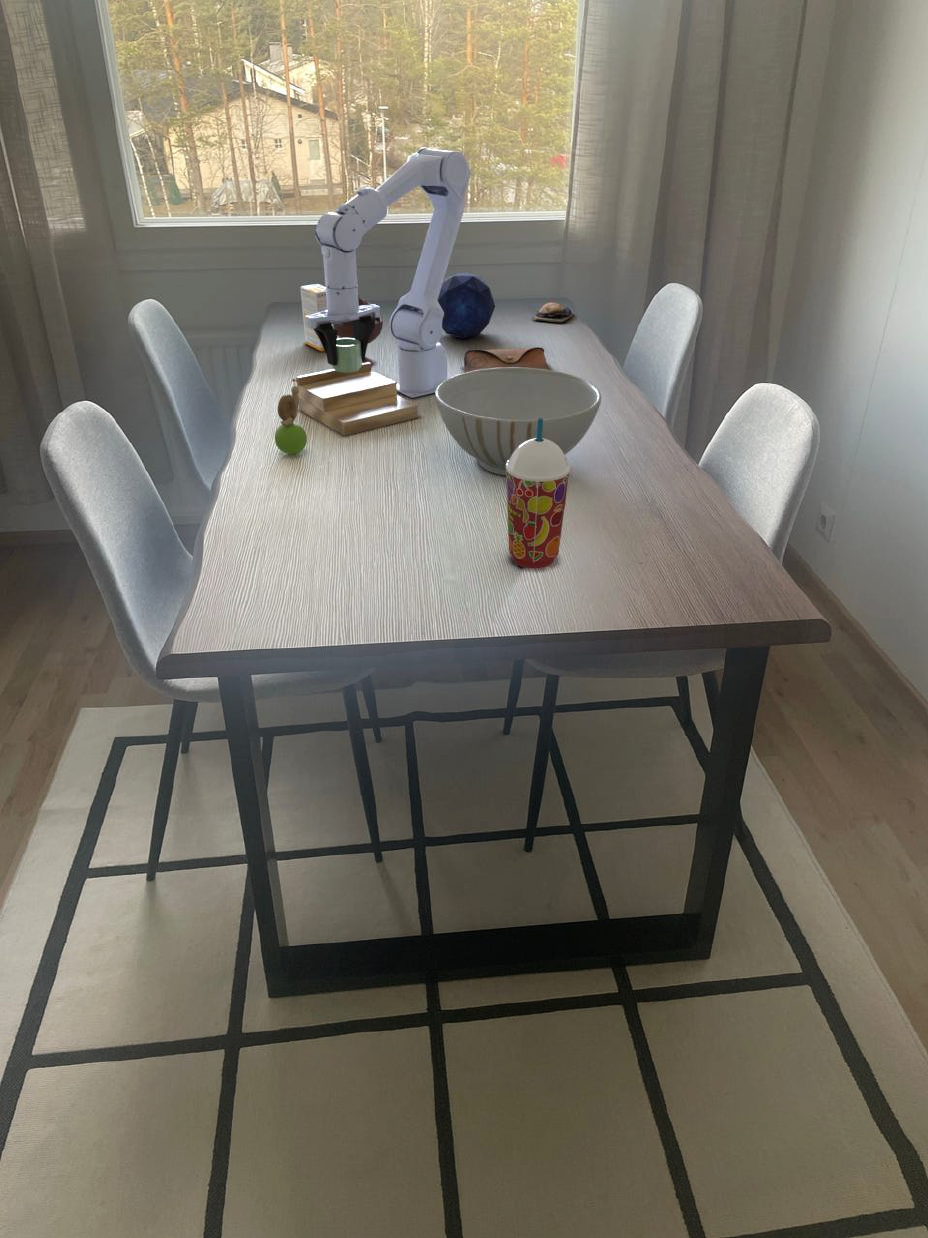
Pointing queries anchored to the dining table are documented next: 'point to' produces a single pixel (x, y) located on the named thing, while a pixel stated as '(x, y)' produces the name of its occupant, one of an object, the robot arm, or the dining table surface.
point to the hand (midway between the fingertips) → (346, 361)
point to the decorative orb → (465, 305)
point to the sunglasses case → (505, 359)
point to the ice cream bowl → (347, 331)
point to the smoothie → (536, 500)
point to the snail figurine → (290, 424)
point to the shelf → (353, 400)
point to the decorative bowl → (515, 410)
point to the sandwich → (553, 313)
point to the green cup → (348, 355)
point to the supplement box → (313, 310)
